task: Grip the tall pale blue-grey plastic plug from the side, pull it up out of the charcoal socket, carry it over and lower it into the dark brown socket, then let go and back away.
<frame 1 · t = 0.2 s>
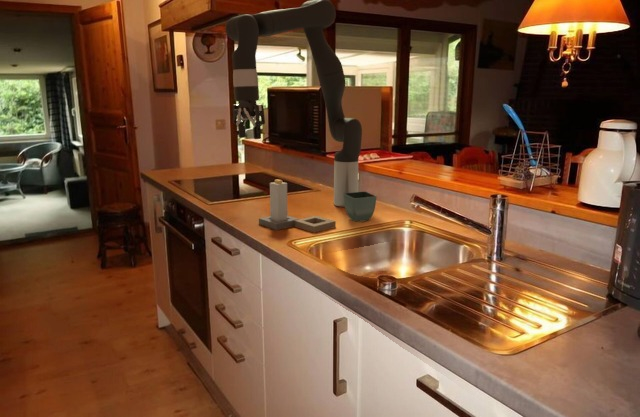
hand: (249, 138, 153), 29 cm above the worktop, tool pointing down, fingers open, 8 cm apart
plug: (278, 202, 159), in the socket A
socket B: (314, 226, 159), on the worktop
socket A: (279, 224, 161), on the worktop
flower pot: (359, 220, 167), on the worktop
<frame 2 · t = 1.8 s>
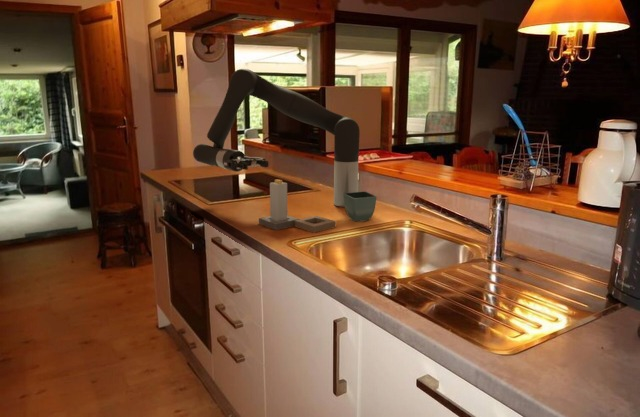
hand: (257, 165, 164), 18 cm above the worktop, tool horizontal, fingers open, 8 cm apart
nothing on the worktop moved.
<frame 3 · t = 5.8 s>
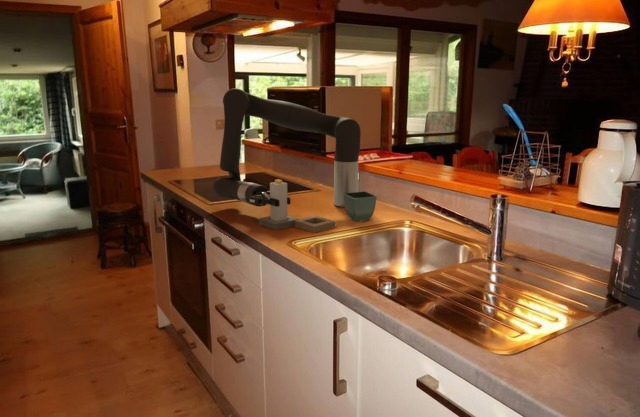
hand: (284, 202, 157), 8 cm above the worktop, tool horizontal, fingers closed on plug, 4 cm apart
plug: (278, 202, 159), in the socket A, touching gripper
everything else where it was.
when the fingers open (9 cm above the worktop, at t = 10.9 s): plug drops 1 cm, resting in socket B.
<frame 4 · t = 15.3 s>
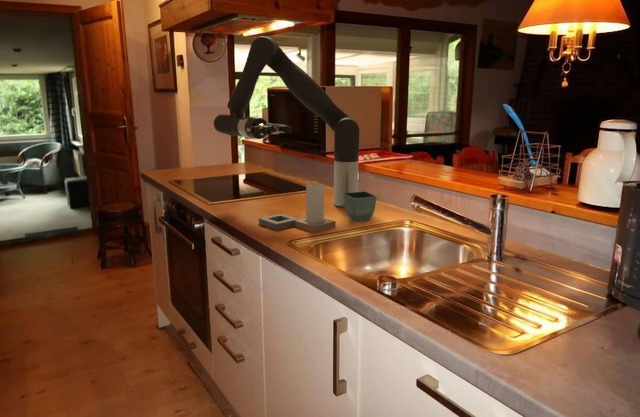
hand: (280, 130, 163), 30 cm above the worktop, tool horizontal, fingers open, 8 cm apart
plug: (315, 204, 157), in the socket B
everything else where it was.
at the end: plug 0.0 cm off-centre on the socket B, point 7.5 cm above the socket B's base; plug tilted 0°; the gripper is holding nothing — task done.
